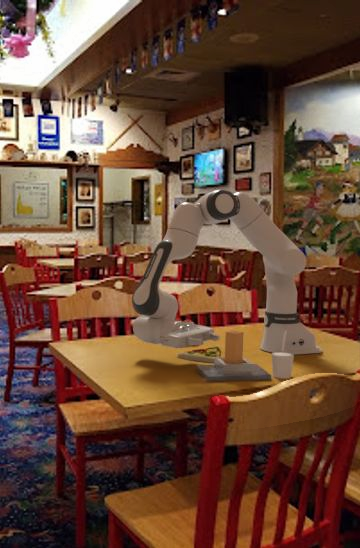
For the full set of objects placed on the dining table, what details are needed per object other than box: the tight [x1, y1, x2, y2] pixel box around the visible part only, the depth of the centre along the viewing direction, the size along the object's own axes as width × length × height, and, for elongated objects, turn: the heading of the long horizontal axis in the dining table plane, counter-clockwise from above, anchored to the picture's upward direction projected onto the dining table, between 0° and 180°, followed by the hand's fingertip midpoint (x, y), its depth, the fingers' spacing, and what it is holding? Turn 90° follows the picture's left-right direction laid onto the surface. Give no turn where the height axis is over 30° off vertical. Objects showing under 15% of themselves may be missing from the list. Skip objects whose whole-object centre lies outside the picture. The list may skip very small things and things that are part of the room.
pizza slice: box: [176, 346, 221, 364], centre depth 226 cm, size 16×21×3 cm
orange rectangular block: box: [224, 330, 244, 364], centre depth 199 cm, size 4×4×12 cm
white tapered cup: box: [271, 352, 295, 379], centre depth 200 cm, size 7×7×7 cm
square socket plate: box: [195, 356, 272, 383], centre depth 200 cm, size 20×14×4 cm
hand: (210, 340), depth 204 cm, fingers open, 8 cm apart
